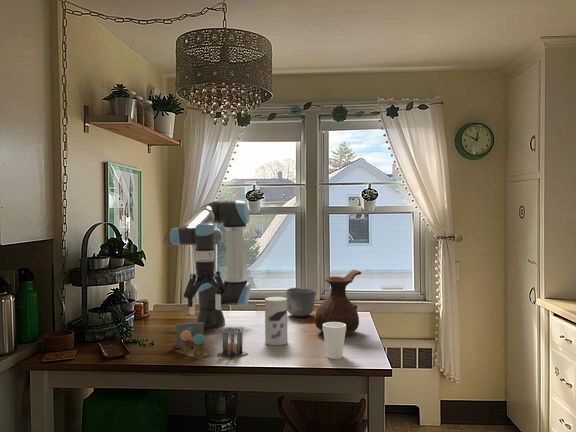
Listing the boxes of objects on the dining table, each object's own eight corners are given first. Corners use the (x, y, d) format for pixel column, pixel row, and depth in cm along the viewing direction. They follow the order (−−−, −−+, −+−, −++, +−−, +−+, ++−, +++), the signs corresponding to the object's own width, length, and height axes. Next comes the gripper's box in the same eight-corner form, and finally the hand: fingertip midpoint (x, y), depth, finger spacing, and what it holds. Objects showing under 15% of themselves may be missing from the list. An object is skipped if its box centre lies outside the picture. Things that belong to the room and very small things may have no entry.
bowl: (323, 315, 270) (322, 288, 270) (307, 321, 256) (307, 293, 255) (296, 311, 280) (296, 286, 280) (279, 317, 265) (279, 290, 265)
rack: (175, 351, 203) (175, 340, 203) (187, 348, 208) (187, 337, 208) (198, 359, 192) (198, 347, 192) (210, 355, 197) (209, 344, 197)
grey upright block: (176, 344, 213) (176, 322, 213) (203, 342, 216) (203, 320, 216) (176, 347, 209) (175, 325, 208) (204, 345, 211) (203, 323, 211)
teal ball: (190, 345, 197) (190, 334, 197) (200, 342, 200) (199, 331, 200) (197, 347, 194) (197, 336, 194) (206, 344, 197) (206, 333, 197)
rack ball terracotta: (178, 341, 203) (178, 330, 203) (187, 339, 206) (187, 328, 206) (184, 343, 200) (184, 332, 200) (193, 341, 203) (193, 330, 203)
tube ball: (224, 353, 198) (224, 342, 198) (233, 351, 201) (233, 340, 201) (231, 355, 195) (231, 344, 195) (240, 353, 198) (240, 342, 198)
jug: (356, 341, 217) (355, 275, 217) (310, 337, 224) (309, 273, 223) (363, 329, 238) (362, 269, 238) (320, 326, 244) (320, 268, 244)
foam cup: (321, 353, 199) (321, 322, 199) (343, 352, 200) (343, 321, 200) (325, 360, 189) (324, 327, 189) (348, 359, 190) (347, 327, 190)
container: (271, 346, 209) (270, 301, 209) (261, 341, 218) (261, 297, 217) (291, 343, 213) (291, 299, 213) (281, 338, 222) (281, 295, 222)
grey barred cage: (217, 355, 198) (216, 330, 198) (233, 350, 204) (233, 326, 204) (231, 359, 192) (231, 334, 191) (248, 354, 198) (247, 330, 198)
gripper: (185, 263, 186) (186, 318, 187) (233, 259, 205) (234, 308, 205) (174, 262, 191) (174, 315, 192) (222, 258, 210) (222, 306, 210)
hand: (205, 312), depth 198 cm, fingers open, 13 cm apart
